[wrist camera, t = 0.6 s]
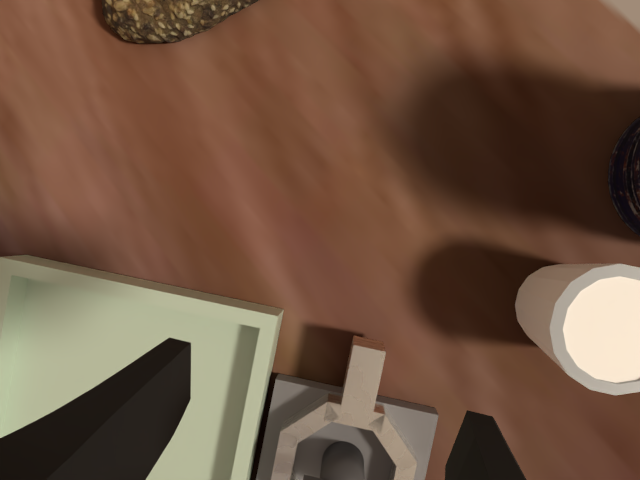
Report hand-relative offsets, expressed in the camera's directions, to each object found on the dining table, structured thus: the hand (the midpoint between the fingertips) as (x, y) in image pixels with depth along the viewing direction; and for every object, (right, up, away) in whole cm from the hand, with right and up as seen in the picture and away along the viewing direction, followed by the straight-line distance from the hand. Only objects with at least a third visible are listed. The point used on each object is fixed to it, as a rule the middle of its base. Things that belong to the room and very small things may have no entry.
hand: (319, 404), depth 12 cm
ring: (+2, -9, +19) cm, 21 cm away
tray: (-14, -8, +21) cm, 26 cm away
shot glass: (+16, 0, +19) cm, 25 cm away
